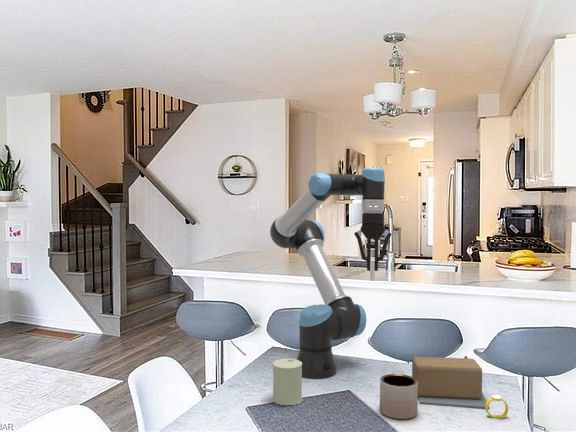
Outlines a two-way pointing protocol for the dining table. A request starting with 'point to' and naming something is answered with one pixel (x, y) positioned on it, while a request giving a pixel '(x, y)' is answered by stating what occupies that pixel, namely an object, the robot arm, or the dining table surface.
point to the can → (287, 381)
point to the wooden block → (447, 377)
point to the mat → (454, 402)
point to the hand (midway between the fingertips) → (372, 280)
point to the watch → (496, 398)
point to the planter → (398, 396)
